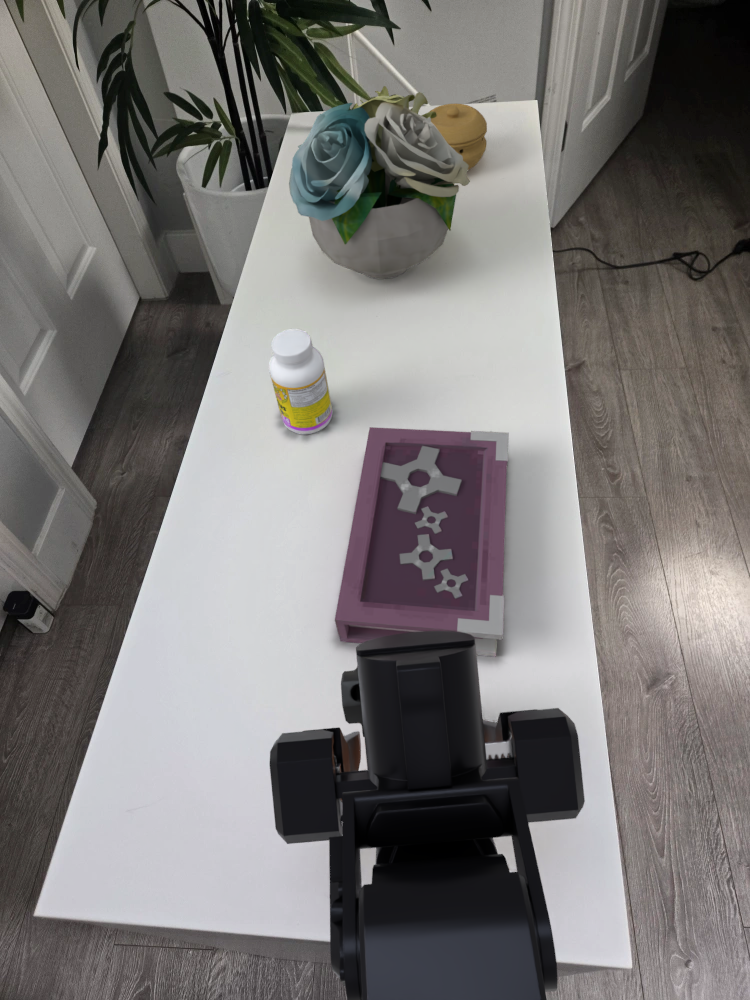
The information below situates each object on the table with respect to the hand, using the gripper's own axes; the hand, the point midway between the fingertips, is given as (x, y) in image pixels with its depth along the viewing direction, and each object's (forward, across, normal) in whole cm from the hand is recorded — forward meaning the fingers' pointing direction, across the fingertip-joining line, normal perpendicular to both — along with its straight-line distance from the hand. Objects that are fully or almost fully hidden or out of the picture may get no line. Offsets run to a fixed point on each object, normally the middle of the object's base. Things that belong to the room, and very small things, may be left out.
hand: (419, 732), depth 52 cm
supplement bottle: (+39, +10, -29) cm, 50 cm away
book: (+27, -3, -12) cm, 30 cm away
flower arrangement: (+57, -2, -54) cm, 79 cm away
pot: (+73, -16, -76) cm, 106 cm away
